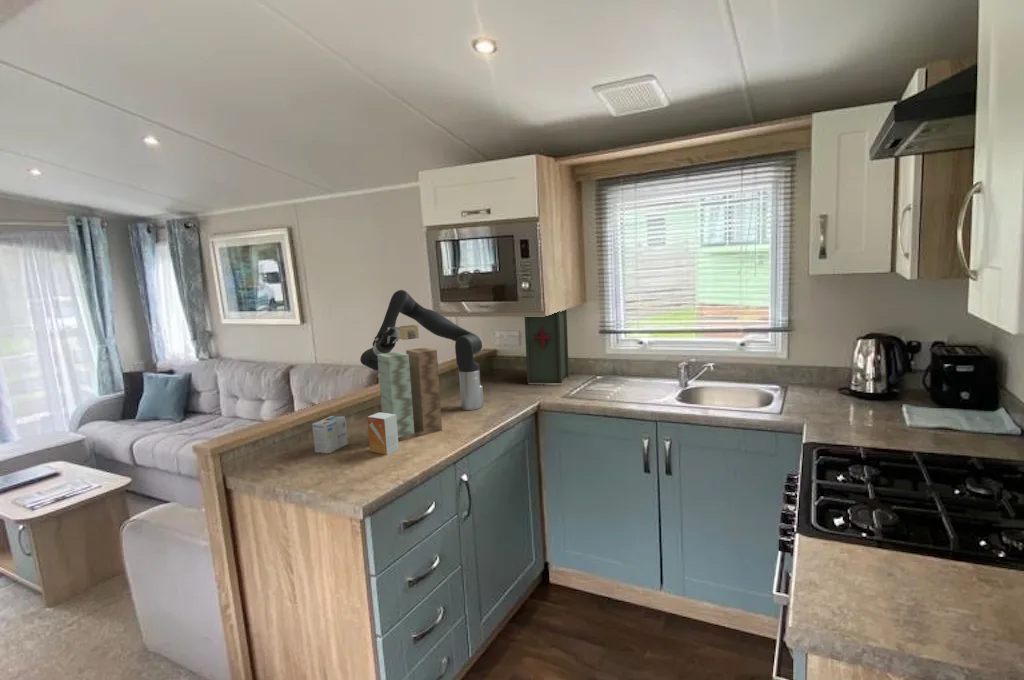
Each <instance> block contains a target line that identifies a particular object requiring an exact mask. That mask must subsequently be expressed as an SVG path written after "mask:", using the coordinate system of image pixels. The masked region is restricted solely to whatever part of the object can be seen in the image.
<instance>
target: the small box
mask: <svg viewBox="0 0 1024 680" xmlns="http://www.w3.org/2000/svg"><path fill="white" fill-rule="evenodd" d="M367 427H368V441H369V451H370V452H371V453H376V454H381V455H386V456H388V455H390V454H392V453H394V452H396V451H398V450H400V448H399V441H398V433H397V420H396V414H389V413H382V411H381V412H376V413H374V414H371V415H369V416H367Z"/></svg>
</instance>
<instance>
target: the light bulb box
mask: <svg viewBox="0 0 1024 680" xmlns="http://www.w3.org/2000/svg"><path fill="white" fill-rule="evenodd" d="M346 421H347V420H346V416H341V415H330V416H328V417H326V418H324V419H321V420H319V421H316V422H314V423H311V425H312V434H313V436H312V437H313V443H314V444H313V445H314V452H315V453H319V452H321V453H320V454H328V453H329V454H331V453H333V452H335V451H337V450H339V449H341V448H343V447H345V446H346V445H348V442H349V441H348V433H347V423H346Z"/></svg>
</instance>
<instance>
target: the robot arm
mask: <svg viewBox="0 0 1024 680" xmlns="http://www.w3.org/2000/svg"><path fill="white" fill-rule="evenodd" d="M400 314H402V315H404V316H406V317H409V318H410V319H413V320H414V321H416V322H417V323H418V324H419V325H420V326H422V327H423V328H425V330H427V331H428V332H430V333H431V334H434V336H438V337H440V338H444V339H447V340H451V341H453V342H455V343H454V344H455V345H454V351H455V352H454V353H455V359H456V365H457V367H458V374H459V375H458V376H459V377H458V378H459V391H460V393H459V394H460V406H461V407H460V408H461V409H462V410H464V411H473V410H478V409H481V408H483V407H484V393H483V385H481V373H480V364H479V362H476V361H475V360H474V355H475V354H477V353H479V352H480V351H481V350H482V348H483V343H482V340H481V338H480V337H479V336H478V335H476V334H475V333H473V332H471V331H469V330H468V329H464V328H462V327H460V325H457V324H456V323H454V322H452V321H451V320H449V319H448V318H446V317H445V316H443V315H442V314H440V313H438V312H437V311H435V310H432V309H428V308H425V307H423V306H422V305H421V304H419V303H418V302H417V301H416V300H415V299H414V298H413V297H412V296H411V295H410V294H409V293H408V292H407V291H406V290H404V289H399V290H397V291H395V292H394V293H393V294H392V296H391V298H390V301H389V303H388V307H387V309H386V312H385V315H384V317H383V318H384V319H383V321H382V323H381V325H380V328H379V330H378V332H377V334H376V336H375V337H374V339H373V342H372V347H371V348H369V349H366V350H365V351H364V352H362V354H361V355H360V360H359V361H360V363H361V364H362V365H364V366H366V367H368V368H369V369H372V370H373V371H376V372H377V371H378V372H379V369H378V357H377V355H378V354H384V353H391V351H392V350H393V349H394V348H395V346H396V343H397V342H399V340H402V341H404V340H403V339H401V338H397V337H392V336H391V335H392V334H393V333H394V329H393V327H396V323H397V321H398V317H399V315H400ZM389 327H391V328H390V329H389V330H388V328H389Z"/></svg>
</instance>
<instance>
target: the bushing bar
mask: <svg viewBox="0 0 1024 680" xmlns="http://www.w3.org/2000/svg"><path fill="white" fill-rule="evenodd" d="M390 328H391V327H389V328H388V330H389V329H390ZM393 329H394V333H393V334H392V335H391V336H392V337H397V338H401V339H400V340H402V339H403V340H402V341H405V340H407V341H408V340H413V339H419V338H420V336H419V325H416V324H410V325H401V326H399V327H398V326H395V327H393Z"/></svg>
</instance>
